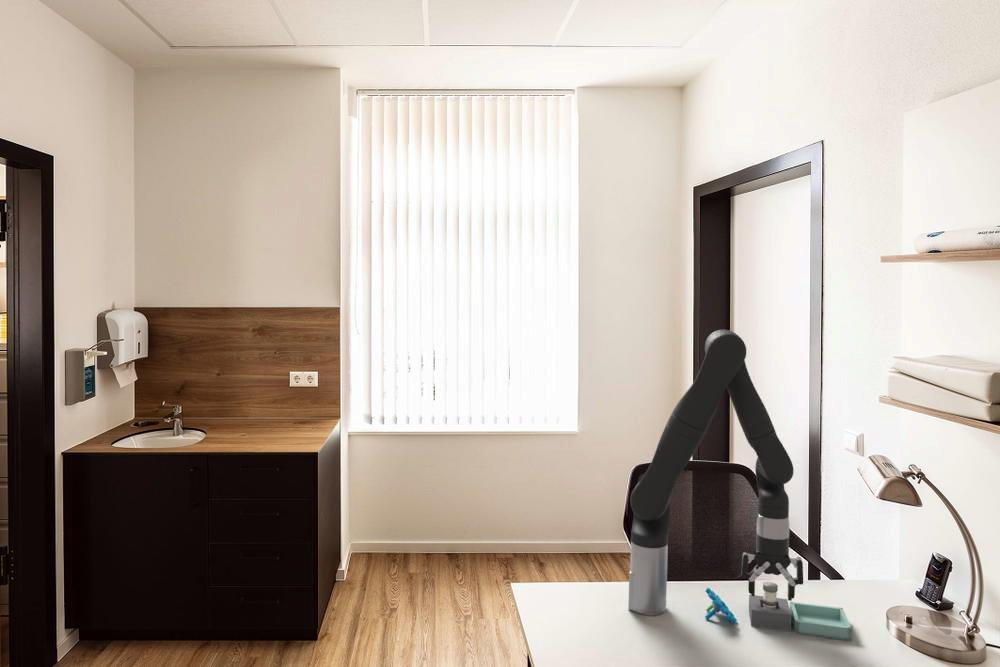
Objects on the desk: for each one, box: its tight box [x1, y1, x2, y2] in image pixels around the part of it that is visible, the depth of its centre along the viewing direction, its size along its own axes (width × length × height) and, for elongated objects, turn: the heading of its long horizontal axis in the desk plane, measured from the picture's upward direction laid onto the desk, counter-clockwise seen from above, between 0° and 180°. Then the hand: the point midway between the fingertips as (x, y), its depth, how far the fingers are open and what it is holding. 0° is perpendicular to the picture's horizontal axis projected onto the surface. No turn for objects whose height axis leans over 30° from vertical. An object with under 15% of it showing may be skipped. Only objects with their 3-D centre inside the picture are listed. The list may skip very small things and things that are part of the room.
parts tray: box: [789, 601, 853, 642], centre depth 174 cm, size 12×11×3 cm
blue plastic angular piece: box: [704, 587, 738, 625], centre depth 177 cm, size 11×6×10 cm
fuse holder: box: [748, 594, 792, 632], centre depth 177 cm, size 9×9×4 cm
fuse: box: [762, 581, 779, 609], centre depth 176 cm, size 3×3×9 cm
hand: (771, 597), depth 176 cm, fingers open, 8 cm apart
